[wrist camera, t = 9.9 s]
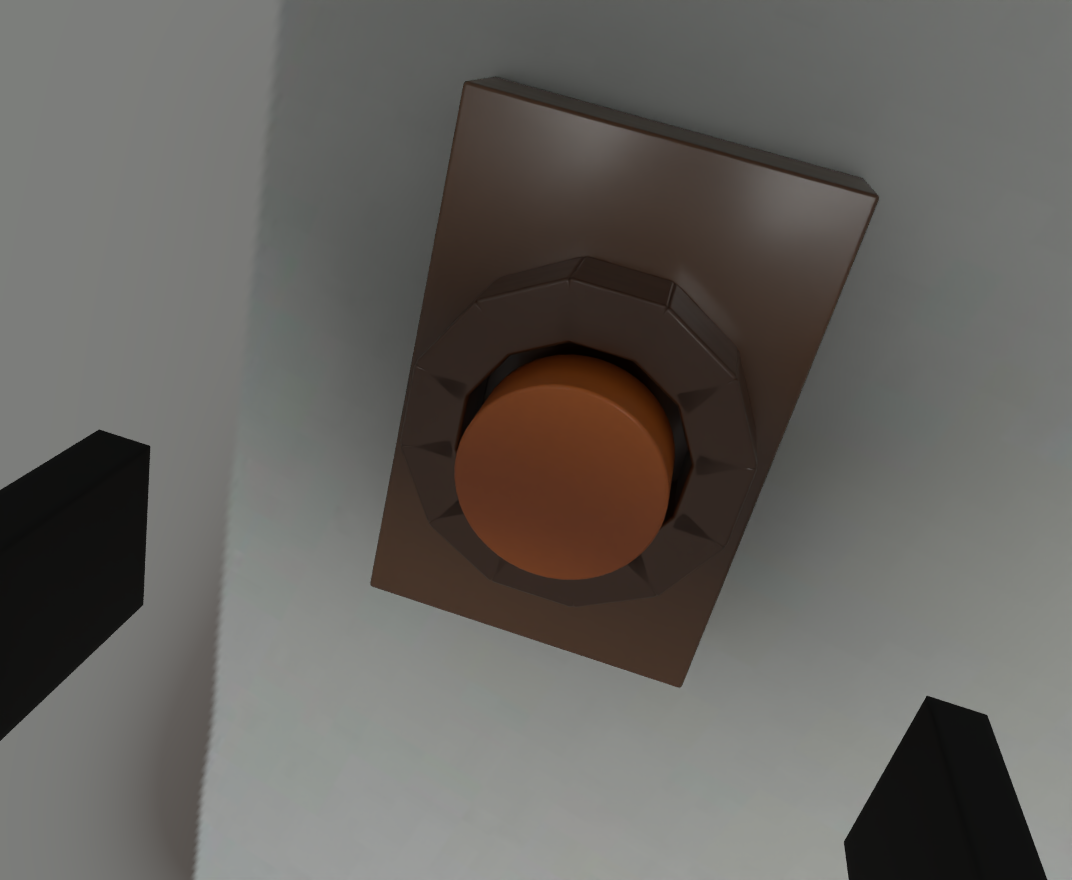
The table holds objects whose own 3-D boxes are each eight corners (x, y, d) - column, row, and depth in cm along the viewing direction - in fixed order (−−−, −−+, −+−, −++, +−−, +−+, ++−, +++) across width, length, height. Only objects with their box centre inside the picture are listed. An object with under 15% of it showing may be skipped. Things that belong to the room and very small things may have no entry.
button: (500, 328, 17) (477, 356, 16) (702, 388, 17) (698, 424, 15) (460, 502, 19) (435, 543, 17) (642, 560, 19) (633, 607, 17)
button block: (491, 75, 19) (433, 84, 15) (866, 178, 18) (897, 213, 15) (398, 542, 24) (339, 629, 21) (686, 635, 23) (676, 742, 20)
